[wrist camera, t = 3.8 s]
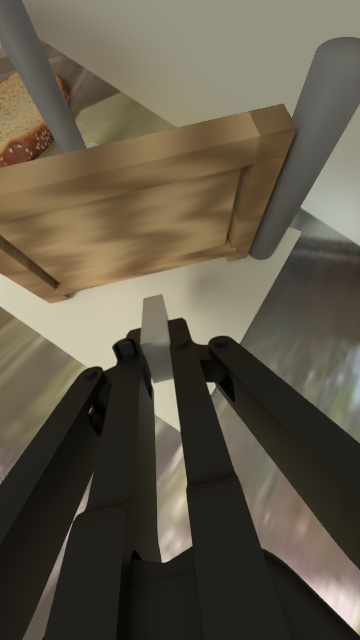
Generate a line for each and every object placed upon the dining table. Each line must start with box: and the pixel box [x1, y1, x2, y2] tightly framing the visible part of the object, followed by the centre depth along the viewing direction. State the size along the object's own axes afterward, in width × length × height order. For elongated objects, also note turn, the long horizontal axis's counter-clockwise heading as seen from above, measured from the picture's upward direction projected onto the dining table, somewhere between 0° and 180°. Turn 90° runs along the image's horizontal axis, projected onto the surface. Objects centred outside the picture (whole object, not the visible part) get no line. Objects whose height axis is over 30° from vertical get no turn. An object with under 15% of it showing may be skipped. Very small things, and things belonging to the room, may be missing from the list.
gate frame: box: [0, 0, 360, 432], centre depth 18 cm, size 30×24×18 cm
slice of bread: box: [0, 72, 69, 168], centre depth 34 cm, size 18×18×4 cm
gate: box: [0, 104, 297, 304], centre depth 18 cm, size 21×2×12 cm, turn 103°
